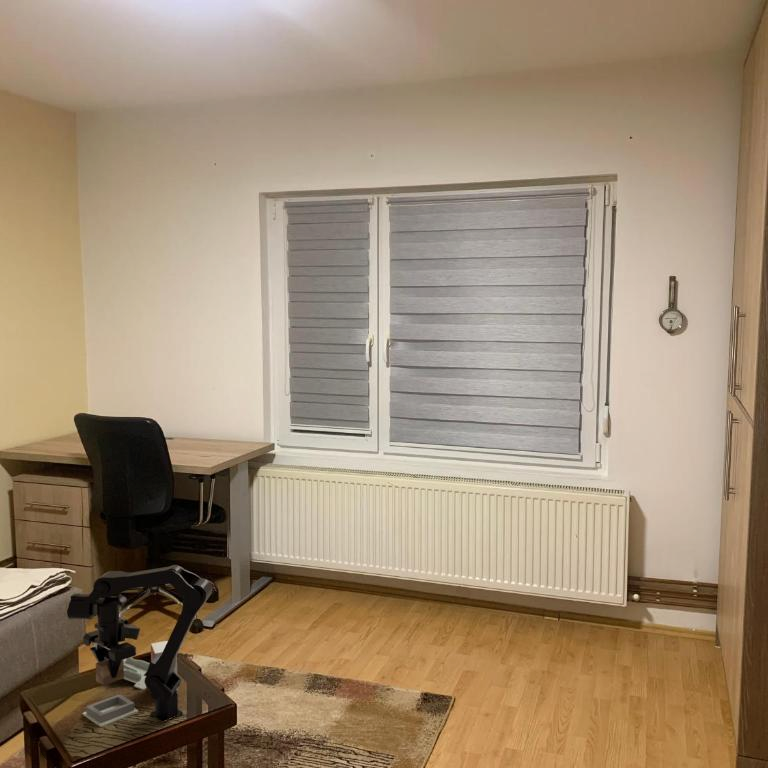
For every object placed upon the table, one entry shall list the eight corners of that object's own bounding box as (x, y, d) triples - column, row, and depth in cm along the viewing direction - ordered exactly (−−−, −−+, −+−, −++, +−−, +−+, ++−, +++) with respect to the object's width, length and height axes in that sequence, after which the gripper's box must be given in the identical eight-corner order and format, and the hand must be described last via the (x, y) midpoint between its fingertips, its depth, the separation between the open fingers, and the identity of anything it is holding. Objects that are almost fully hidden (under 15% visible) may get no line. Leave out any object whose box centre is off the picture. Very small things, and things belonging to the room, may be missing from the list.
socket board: (138, 712, 215) (138, 703, 215) (100, 726, 207) (100, 717, 207) (119, 700, 222) (119, 692, 221) (82, 714, 213) (82, 705, 213)
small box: (151, 686, 231) (150, 643, 230) (173, 682, 234) (172, 639, 233) (155, 697, 224) (154, 653, 223) (177, 693, 226) (177, 649, 226)
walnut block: (123, 678, 215) (123, 660, 214) (103, 685, 210) (102, 667, 210) (116, 674, 217) (116, 656, 217) (96, 681, 213) (95, 663, 213)
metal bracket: (104, 668, 230) (128, 648, 245) (99, 686, 231) (123, 665, 246) (148, 685, 228) (169, 664, 243) (143, 703, 229) (165, 681, 244)
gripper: (153, 619, 212) (154, 675, 213) (118, 604, 225) (120, 657, 226) (115, 631, 204) (116, 689, 205) (81, 614, 217) (83, 669, 218)
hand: (110, 675), depth 214 cm, fingers closed on walnut block, 4 cm apart
